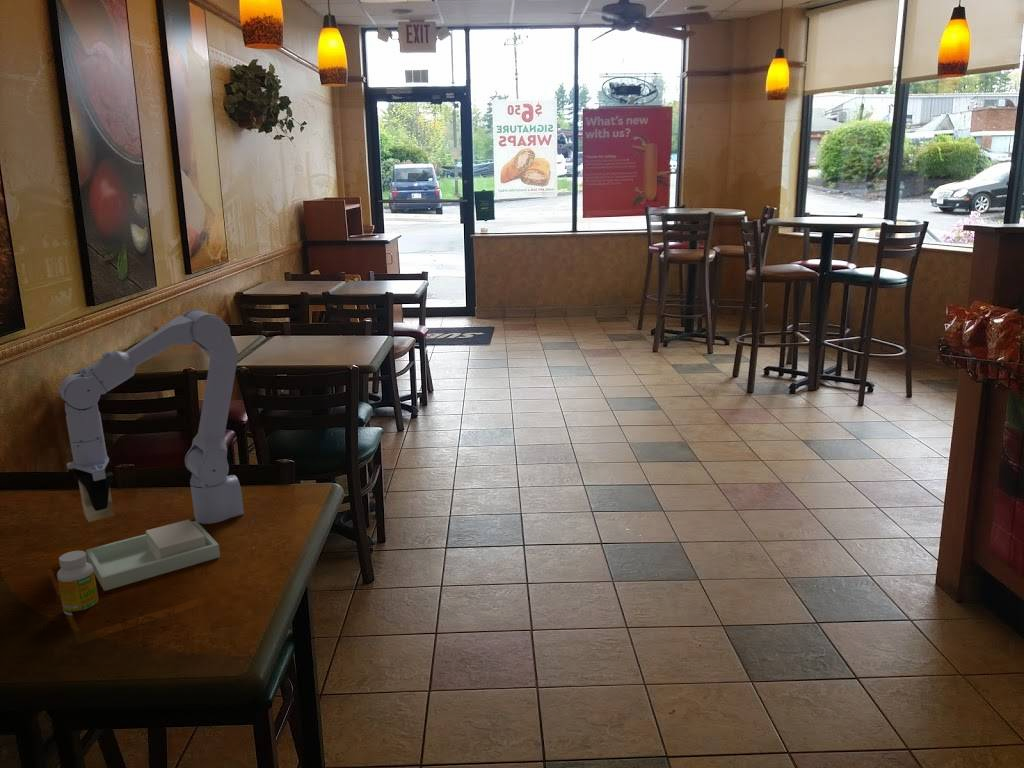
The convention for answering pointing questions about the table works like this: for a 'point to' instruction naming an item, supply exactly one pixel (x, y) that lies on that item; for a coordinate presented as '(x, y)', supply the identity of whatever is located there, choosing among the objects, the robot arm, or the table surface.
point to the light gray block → (174, 539)
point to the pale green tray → (142, 560)
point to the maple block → (88, 506)
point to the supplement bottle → (76, 582)
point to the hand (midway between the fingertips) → (98, 505)
